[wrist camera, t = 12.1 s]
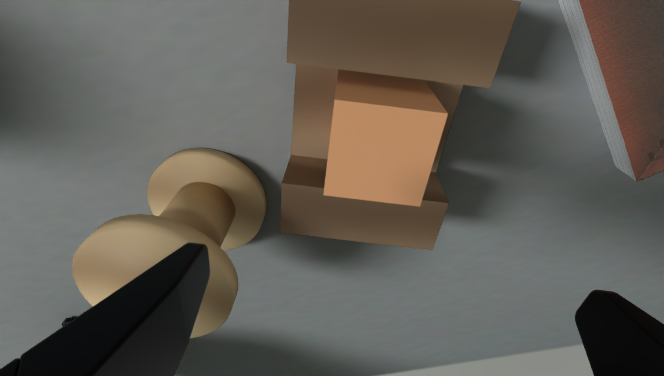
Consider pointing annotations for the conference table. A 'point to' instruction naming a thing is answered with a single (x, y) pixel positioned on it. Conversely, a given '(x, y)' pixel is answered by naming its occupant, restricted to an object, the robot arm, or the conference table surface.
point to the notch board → (386, 59)
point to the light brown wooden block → (382, 138)
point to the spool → (179, 230)
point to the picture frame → (624, 76)
